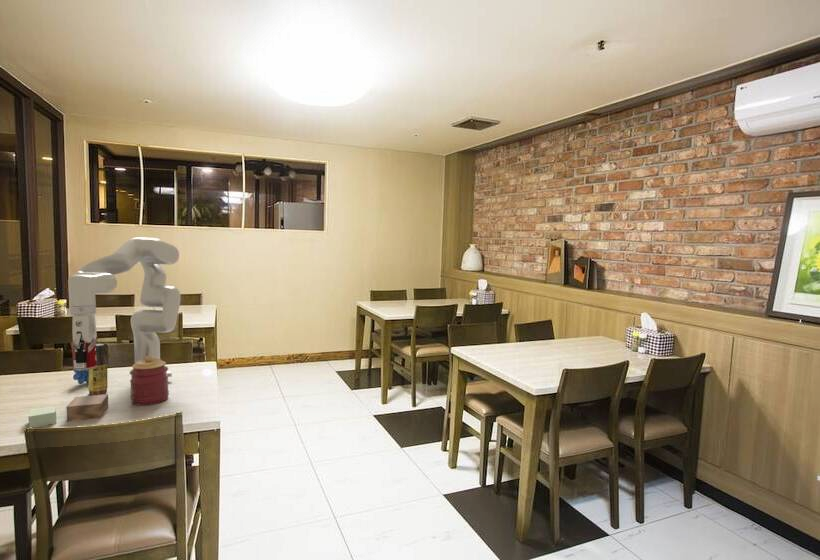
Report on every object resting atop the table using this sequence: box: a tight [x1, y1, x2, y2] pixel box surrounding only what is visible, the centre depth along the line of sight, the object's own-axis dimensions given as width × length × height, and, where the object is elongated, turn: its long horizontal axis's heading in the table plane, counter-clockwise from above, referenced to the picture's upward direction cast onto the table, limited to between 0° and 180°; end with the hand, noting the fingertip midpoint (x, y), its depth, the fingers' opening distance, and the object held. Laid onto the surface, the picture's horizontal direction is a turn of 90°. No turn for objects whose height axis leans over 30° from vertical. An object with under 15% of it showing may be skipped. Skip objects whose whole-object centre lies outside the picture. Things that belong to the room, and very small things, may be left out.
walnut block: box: [66, 393, 109, 422], centre depth 162 cm, size 10×10×5 cm
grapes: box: [72, 368, 89, 385], centre depth 195 cm, size 12×7×12 cm, turn 156°
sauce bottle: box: [88, 343, 109, 396], centre depth 182 cm, size 7×6×20 cm
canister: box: [129, 355, 170, 406], centre depth 177 cm, size 13×13×18 cm
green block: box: [27, 405, 57, 429], centre depth 154 cm, size 7×7×4 cm
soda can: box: [71, 338, 97, 371], centre depth 161 cm, size 7×7×12 cm
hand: (85, 359), depth 161 cm, fingers closed on soda can, 6 cm apart
